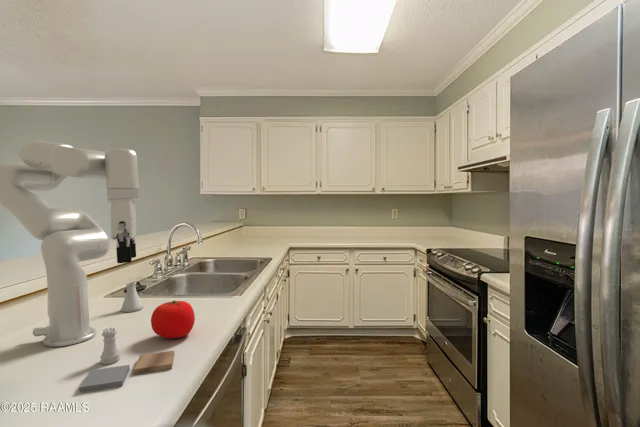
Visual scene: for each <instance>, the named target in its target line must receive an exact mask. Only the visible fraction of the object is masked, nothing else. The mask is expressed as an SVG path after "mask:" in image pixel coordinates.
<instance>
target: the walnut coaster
mask: <svg viewBox="0 0 640 427" xmlns="http://www.w3.org/2000/svg"><path fill="white" fill-rule="evenodd" d="M174 360H175V350H168V351H161V352H152V353H145V354H139V357H138V358H137V361H136V364H135V367H134V369H133V373H134V375H140V374H147V373H151V372H152V373H154V372H160V371H165V370H171V369H173V366H174V365H173V364H174Z"/></svg>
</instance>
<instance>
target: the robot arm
mask: <svg viewBox="0 0 640 427" xmlns="http://www.w3.org/2000/svg"><path fill="white" fill-rule="evenodd" d="M18 153H19V154H18V155H19V158H20V160H21V161H22V162H2V163H0V205H1V206H2V207H3V208H4V209H6V210H7V211H9V212H10V213H11V214H12V215H13V216H14V217H15V218H16V219H17V220H18V221H19V223H20V224H21V225H22V226H23V227H24V228H25V230H27V231H28V232H29V234H30V235H31V236H32V237H33V238H35V239H37V240H39V241H41V244H40V251H41V255H42V259H43V262H44V266H45V267H44V268H45V273H46V285H47V286H46V287H47V300H48V303H47V304H48V319H49V320H48V322H49V325H46V326H44V327H40V326H39V327H34V328H33V330H32V335H33V336H34V337H41V336H43V337H44V338H43V339H42V340H43V341H42V342H43V343H42V344H43V345H44V346H46V347H66V346H71V345H76V344H79V343H83V342H84V341H88V340H90V339H91V338H93V337H94V336H95V335H96V334H97V331H96V329H95V328H94V327H90V313H89V311H90V310H89V309H90V307H89V289H88V287H89V286H88V276H87V274H86V271H85V270H84V269H83V268H82V267H81V265H80V262H81V263H82V262H85V261H89V260H90V261H91V260H97V259H100V258H102V257H105V256H106V255H107V254H108V252H110V249H111V241H110V238H111V240H113V241H115V240H116V262H117V264H125V263H131V262H132V259H134V258H136V257H137V248H136V244H137V243H136V241H135V240H136V239H135V236H136V235H137V212H136V202H140V189H139V188H140V186H139V182H140V181H139V168H138V156H137V153H136V151H134V150H133V149H131V148H130V149H128V148H110V149H107V150H106V151H102V150H96V149H95V150H94V149H88V148H87V149H86V148H80V147H79V148H77V147H74V146H73V145H71V144H68V143H61V142H55V141H48V140H41V139H33V140H28V141H25V143H23V144H22V145H21V146H20V148H19V151H18ZM68 177H71V178H76V179H77V178H78V179H98V180H105V183H106V197H107V198H106V200H107V202H108V203H110V238H109V236H108V235H107V233H106V232H105V231H104V229H103V228H101V226H100V225H99V224H98V223H97V222H96V221H95V220H94V219H93V218H92V217H91V216H90V215H89V214H88V213H87V212H85V211H84V210H82V209H79V208H74V207H73V208H72V207H70V208H68V207H67V208H61V207H60V208H58V207H57V208H56V207H52V206H50V205H49V204H48V203H47V201H45V199H43V198H42V197H41V196H40V195H37V194H35V193H33V191H34V192H35V191H36V192H40V191H41V192H46V191H47V192H48V191H52V190H55V189H56V188H58V187H59V186H60V185H61V184H62V183H63V182H64V181H65V179H67V178H68ZM107 202H106V203H107Z"/></svg>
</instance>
